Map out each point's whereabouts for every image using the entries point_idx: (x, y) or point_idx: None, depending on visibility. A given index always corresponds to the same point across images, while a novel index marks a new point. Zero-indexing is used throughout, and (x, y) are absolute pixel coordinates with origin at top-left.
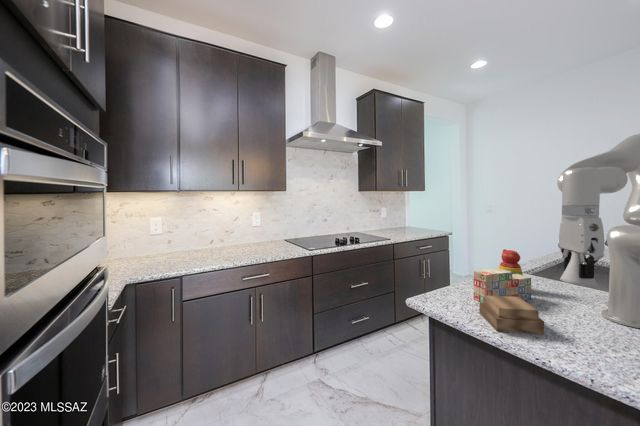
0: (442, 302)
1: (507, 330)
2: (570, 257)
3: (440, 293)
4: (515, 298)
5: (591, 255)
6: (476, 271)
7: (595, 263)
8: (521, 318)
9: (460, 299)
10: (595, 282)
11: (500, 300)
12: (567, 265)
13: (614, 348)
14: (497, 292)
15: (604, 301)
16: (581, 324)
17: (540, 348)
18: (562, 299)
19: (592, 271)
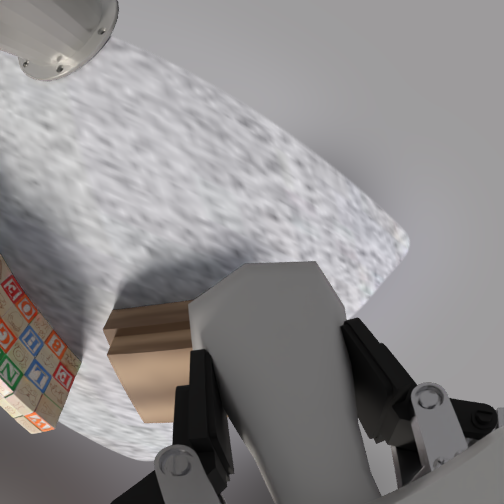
0: (120, 429)
1: None
2: (225, 481)
3: (67, 419)
4: (128, 367)
5: (445, 455)
6: (35, 432)
7: (440, 391)
8: None
9: (78, 398)
10: (322, 279)
11: (169, 404)
12: (228, 434)
13: (261, 158)
14: (44, 355)
15: None
16: (115, 162)
17: None
18: None
19: (396, 361)
